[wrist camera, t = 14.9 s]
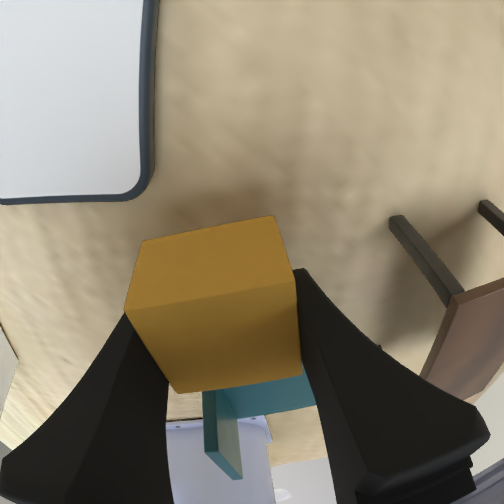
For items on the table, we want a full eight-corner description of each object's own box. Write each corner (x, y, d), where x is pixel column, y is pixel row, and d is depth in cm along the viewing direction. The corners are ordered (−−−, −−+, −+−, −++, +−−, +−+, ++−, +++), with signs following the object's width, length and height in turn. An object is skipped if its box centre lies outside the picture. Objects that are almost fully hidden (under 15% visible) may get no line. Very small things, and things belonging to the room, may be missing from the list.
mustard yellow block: (180, 327, 13) (176, 394, 10) (141, 240, 10) (122, 309, 8) (286, 309, 13) (303, 375, 10) (273, 213, 10) (295, 279, 8)
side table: (369, 353, 23) (398, 427, 17) (389, 216, 16) (458, 305, 10) (448, 328, 23) (483, 390, 17) (488, 199, 16) (557, 265, 10)
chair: (223, 361, 21) (233, 481, 14) (199, 299, 17) (201, 450, 10) (312, 345, 21) (344, 461, 14) (309, 279, 17) (358, 423, 10)
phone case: (160, 186, 14) (190, -142, 4) (154, 204, 12) (187, -158, 3) (0, 192, 12) (5, -95, 3) (-16, 208, 11) (-11, -102, 2)
